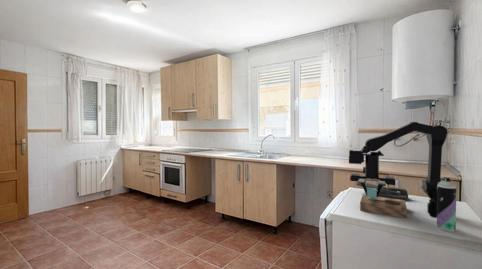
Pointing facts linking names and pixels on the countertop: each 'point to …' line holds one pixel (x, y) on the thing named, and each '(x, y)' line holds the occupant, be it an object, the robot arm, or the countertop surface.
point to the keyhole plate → (384, 206)
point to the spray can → (446, 205)
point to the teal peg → (372, 193)
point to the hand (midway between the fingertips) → (371, 196)
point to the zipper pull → (389, 192)
